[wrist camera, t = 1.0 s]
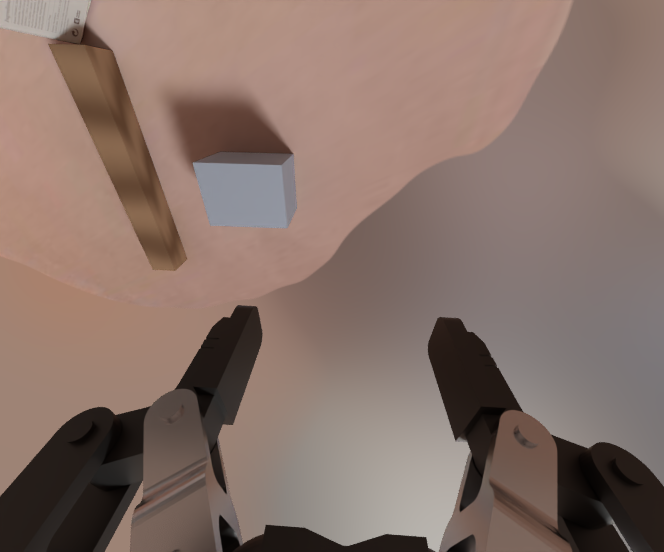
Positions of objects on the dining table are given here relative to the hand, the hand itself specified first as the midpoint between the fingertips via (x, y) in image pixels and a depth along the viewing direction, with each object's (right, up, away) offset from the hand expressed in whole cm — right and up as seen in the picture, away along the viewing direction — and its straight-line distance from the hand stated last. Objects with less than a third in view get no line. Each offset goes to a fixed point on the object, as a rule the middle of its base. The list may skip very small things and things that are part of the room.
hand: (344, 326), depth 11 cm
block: (-9, +13, +18) cm, 24 cm away
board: (-22, +14, +19) cm, 32 cm away
